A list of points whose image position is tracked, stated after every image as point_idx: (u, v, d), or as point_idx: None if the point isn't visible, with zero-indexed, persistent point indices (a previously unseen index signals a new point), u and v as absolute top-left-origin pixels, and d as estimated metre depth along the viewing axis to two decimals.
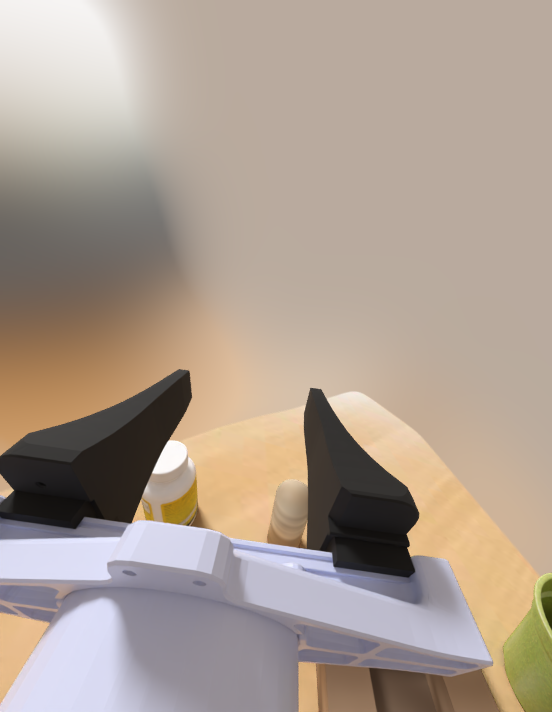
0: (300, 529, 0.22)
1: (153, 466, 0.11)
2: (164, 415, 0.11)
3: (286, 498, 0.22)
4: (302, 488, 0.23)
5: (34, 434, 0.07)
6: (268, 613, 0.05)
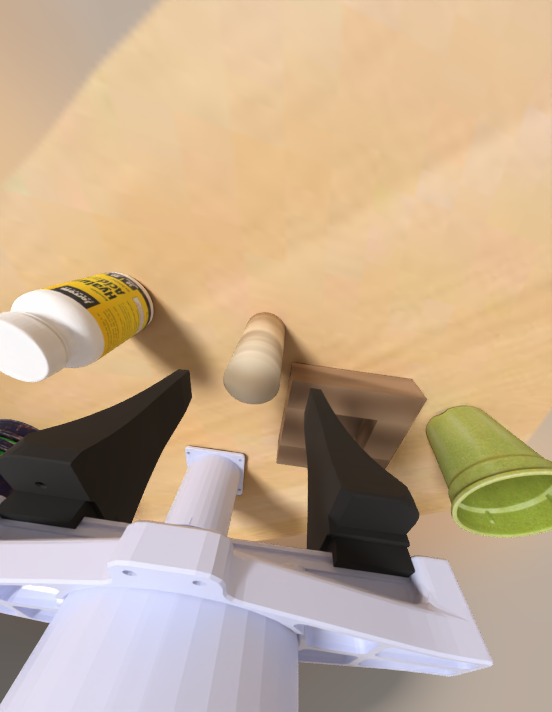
0: None
1: (153, 466, 0.11)
2: (164, 415, 0.11)
3: (239, 384, 0.15)
4: (265, 372, 0.14)
5: (34, 434, 0.07)
6: (268, 613, 0.05)
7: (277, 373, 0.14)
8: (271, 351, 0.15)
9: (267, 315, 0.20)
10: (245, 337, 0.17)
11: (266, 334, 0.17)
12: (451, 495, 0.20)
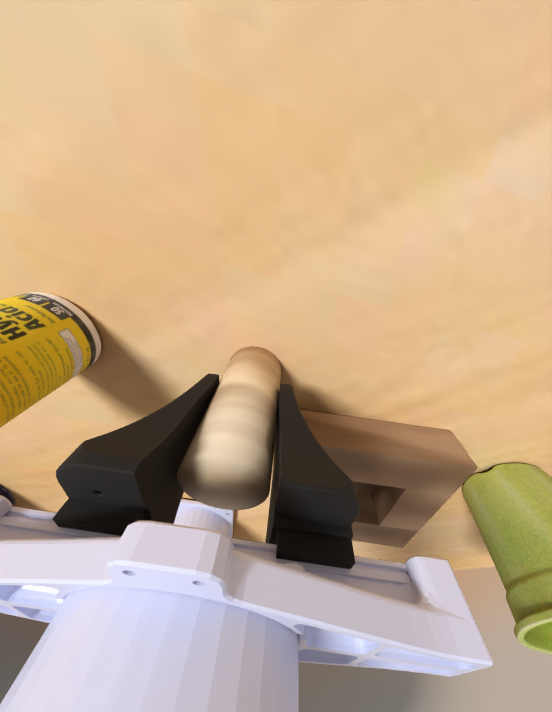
0: None
1: None
2: (199, 420, 0.11)
3: (203, 486, 0.09)
4: (245, 474, 0.08)
5: (90, 442, 0.07)
6: (268, 613, 0.05)
7: (265, 474, 0.08)
8: (257, 428, 0.09)
9: (256, 351, 0.14)
10: (219, 396, 0.11)
11: (251, 391, 0.11)
12: (513, 604, 0.14)
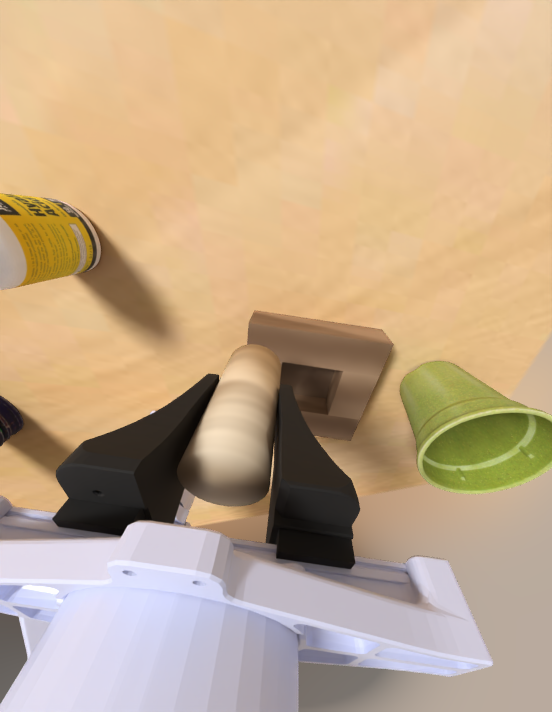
0: None
1: None
2: (199, 420, 0.11)
3: (204, 483, 0.09)
4: (244, 469, 0.08)
5: (90, 442, 0.07)
6: (268, 613, 0.05)
7: (264, 469, 0.08)
8: (255, 424, 0.09)
9: (256, 348, 0.14)
10: (218, 393, 0.11)
11: (250, 388, 0.11)
12: (418, 447, 0.18)
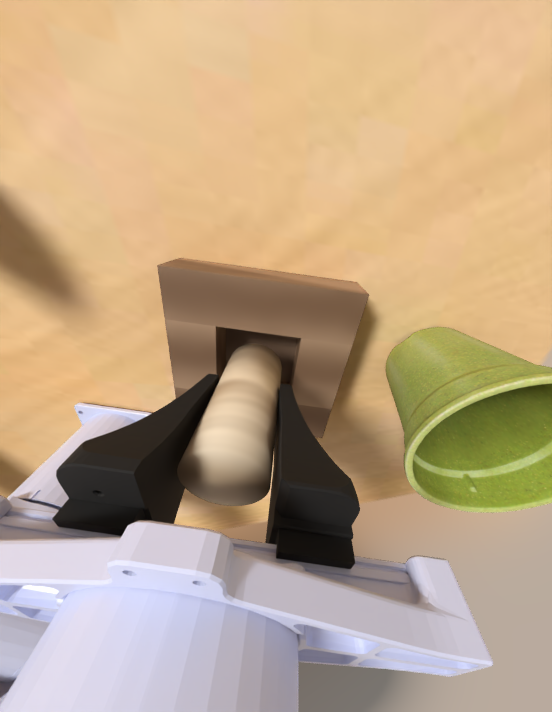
0: None
1: None
2: (199, 420, 0.11)
3: (204, 483, 0.09)
4: (243, 468, 0.08)
5: (91, 442, 0.07)
6: (268, 613, 0.05)
7: (264, 467, 0.08)
8: (255, 422, 0.09)
9: (255, 347, 0.14)
10: (218, 393, 0.11)
11: (249, 387, 0.11)
12: (406, 444, 0.12)
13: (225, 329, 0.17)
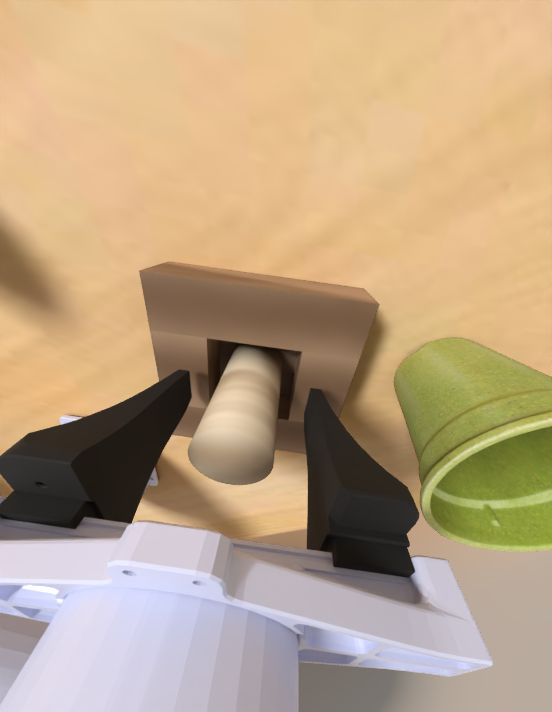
0: None
1: (153, 466, 0.11)
2: (164, 415, 0.11)
3: (213, 462, 0.10)
4: (249, 447, 0.09)
5: (35, 434, 0.07)
6: (268, 613, 0.05)
7: (268, 446, 0.09)
8: (259, 407, 0.10)
9: None
10: (223, 382, 0.12)
11: (253, 376, 0.12)
12: (422, 475, 0.11)
13: (219, 339, 0.16)
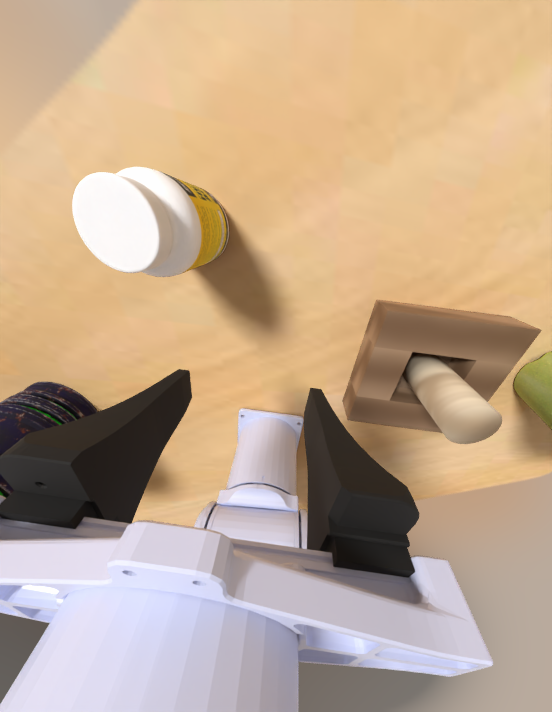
0: None
1: (153, 466, 0.11)
2: (164, 415, 0.11)
3: (458, 428, 0.16)
4: (490, 417, 0.16)
5: (35, 434, 0.07)
6: (268, 613, 0.05)
7: (500, 417, 0.16)
8: None
9: None
10: (438, 381, 0.18)
11: (456, 376, 0.18)
12: None
13: None
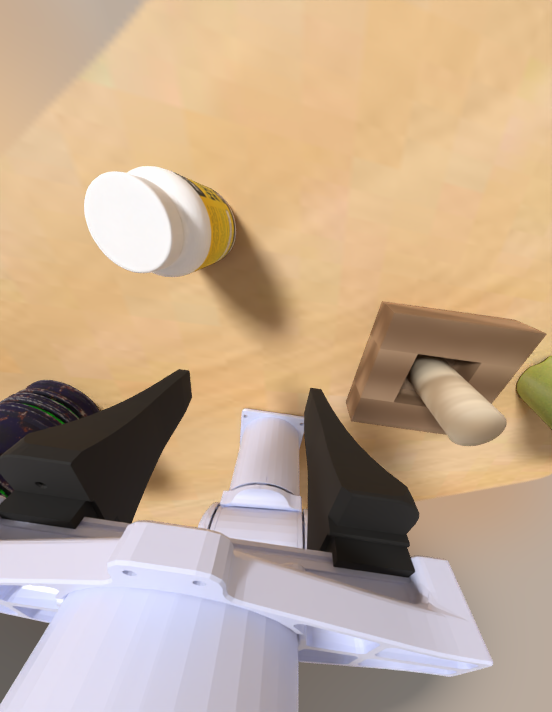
0: None
1: (153, 466, 0.11)
2: (164, 415, 0.11)
3: (463, 430, 0.16)
4: (495, 420, 0.16)
5: (35, 434, 0.07)
6: (268, 613, 0.05)
7: (504, 420, 0.16)
8: (484, 398, 0.17)
9: None
10: (442, 383, 0.18)
11: (461, 379, 0.18)
12: None
13: None
